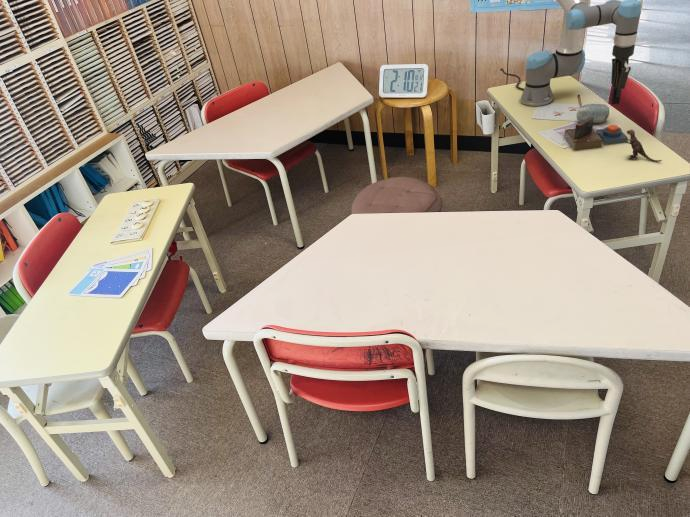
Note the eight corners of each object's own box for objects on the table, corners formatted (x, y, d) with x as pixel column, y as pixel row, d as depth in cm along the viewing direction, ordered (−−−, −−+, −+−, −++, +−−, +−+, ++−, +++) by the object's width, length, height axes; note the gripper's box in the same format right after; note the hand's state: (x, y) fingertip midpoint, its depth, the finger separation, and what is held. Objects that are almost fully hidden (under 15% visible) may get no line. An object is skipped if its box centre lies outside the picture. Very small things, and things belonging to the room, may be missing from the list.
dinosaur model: (628, 127, 209) (670, 134, 201) (622, 153, 216) (662, 161, 209) (625, 132, 206) (667, 139, 199) (619, 158, 214) (659, 166, 206)
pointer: (587, 129, 230) (589, 116, 226) (592, 130, 229) (594, 117, 225) (574, 138, 226) (575, 124, 222) (578, 139, 224) (580, 125, 221)
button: (605, 129, 228) (606, 125, 227) (615, 128, 227) (616, 124, 226) (609, 133, 224) (609, 129, 223) (619, 131, 224) (619, 128, 223)
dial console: (560, 137, 236) (561, 129, 234) (593, 133, 234) (594, 125, 232) (570, 151, 224) (571, 143, 222) (605, 147, 223) (606, 139, 221)
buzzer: (595, 134, 233) (596, 125, 230) (617, 131, 232) (618, 123, 229) (605, 145, 224) (606, 136, 222) (627, 142, 223) (628, 133, 221)
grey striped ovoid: (610, 109, 243) (607, 95, 235) (611, 125, 239) (608, 112, 231) (577, 116, 250) (574, 102, 242) (578, 132, 246) (575, 119, 238)
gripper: (607, 41, 210) (599, 99, 224) (620, 51, 200) (611, 110, 214) (627, 38, 209) (618, 96, 223) (641, 47, 199) (631, 108, 213)
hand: (615, 103), depth 219 cm, fingers closed
